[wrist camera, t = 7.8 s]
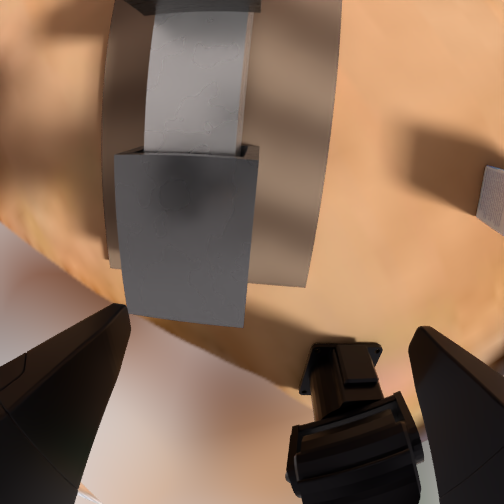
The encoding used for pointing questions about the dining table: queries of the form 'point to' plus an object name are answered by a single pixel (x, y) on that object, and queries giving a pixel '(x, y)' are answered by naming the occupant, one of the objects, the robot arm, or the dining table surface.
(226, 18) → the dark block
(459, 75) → the dining table surface
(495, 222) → the medicine box
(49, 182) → the dining table surface
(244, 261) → the outer sleeve
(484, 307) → the dining table surface
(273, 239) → the base board
